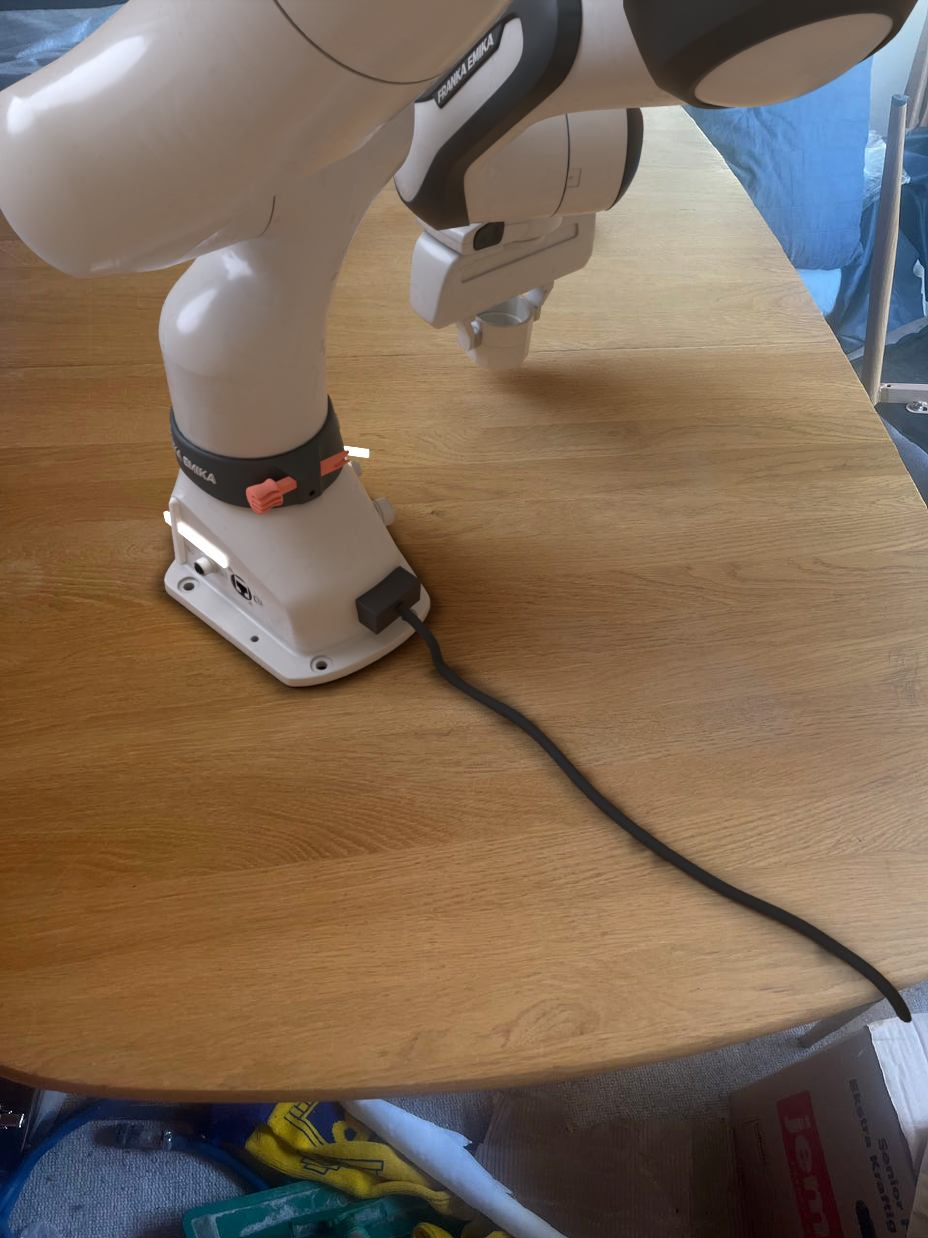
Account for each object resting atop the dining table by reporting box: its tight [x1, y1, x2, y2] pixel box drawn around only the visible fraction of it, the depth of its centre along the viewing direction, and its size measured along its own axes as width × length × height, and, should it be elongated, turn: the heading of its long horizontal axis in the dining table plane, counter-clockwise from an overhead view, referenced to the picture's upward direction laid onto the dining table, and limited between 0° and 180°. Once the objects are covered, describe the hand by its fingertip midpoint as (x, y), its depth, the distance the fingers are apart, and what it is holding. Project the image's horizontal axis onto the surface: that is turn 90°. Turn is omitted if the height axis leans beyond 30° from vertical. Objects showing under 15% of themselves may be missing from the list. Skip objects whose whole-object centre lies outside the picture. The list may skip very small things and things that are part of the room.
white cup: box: [464, 294, 534, 371], centre depth 94 cm, size 6×6×5 cm
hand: (498, 332), depth 94 cm, fingers closed on white cup, 6 cm apart
